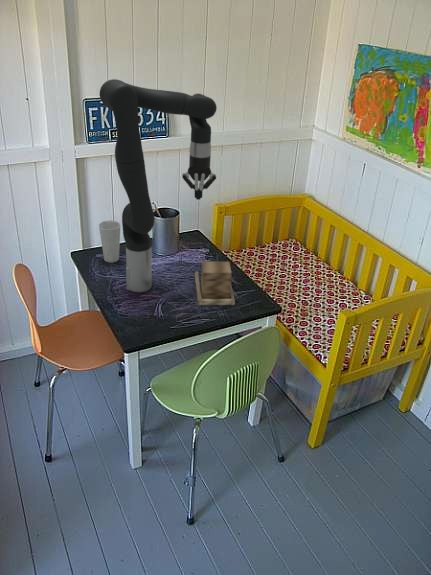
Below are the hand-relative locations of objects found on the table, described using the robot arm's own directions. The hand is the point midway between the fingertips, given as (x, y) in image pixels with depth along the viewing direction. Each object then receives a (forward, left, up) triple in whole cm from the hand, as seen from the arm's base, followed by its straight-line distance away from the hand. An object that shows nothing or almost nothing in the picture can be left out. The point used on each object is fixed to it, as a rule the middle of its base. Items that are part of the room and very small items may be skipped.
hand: (198, 198), depth 203 cm
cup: (-34, +9, -31) cm, 47 cm away
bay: (+6, -16, -31) cm, 36 cm away
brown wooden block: (+6, -20, -30) cm, 36 cm away
